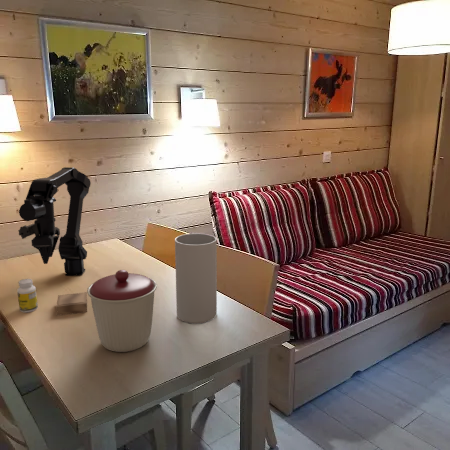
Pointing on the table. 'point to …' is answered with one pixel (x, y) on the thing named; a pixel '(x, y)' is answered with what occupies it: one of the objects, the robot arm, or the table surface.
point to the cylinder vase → (196, 277)
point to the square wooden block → (71, 303)
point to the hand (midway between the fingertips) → (48, 260)
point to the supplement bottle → (27, 296)
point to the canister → (123, 310)
